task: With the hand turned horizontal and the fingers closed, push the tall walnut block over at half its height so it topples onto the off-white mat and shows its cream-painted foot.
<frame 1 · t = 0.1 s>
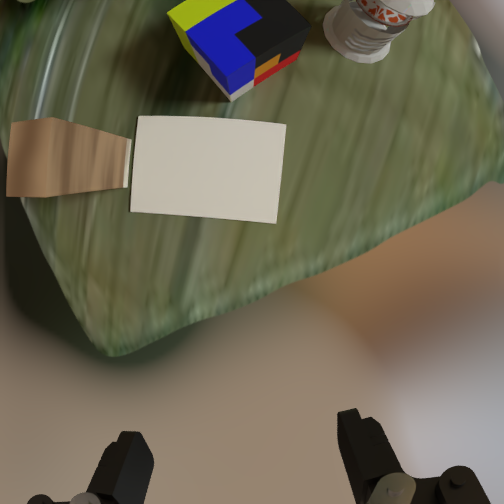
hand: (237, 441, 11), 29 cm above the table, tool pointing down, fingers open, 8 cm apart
french press: (363, 32, 33), on the table
walnut block: (113, 163, 36), on the table
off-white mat: (205, 166, 37), on the table
puzzle toy: (239, 52, 34), on the table
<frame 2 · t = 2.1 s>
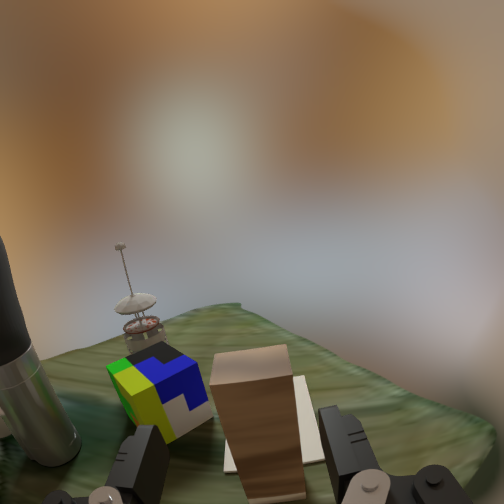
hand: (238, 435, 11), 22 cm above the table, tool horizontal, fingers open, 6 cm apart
french press: (155, 366, 58), on the table
walnut block: (276, 487, 28), on the table
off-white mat: (270, 420, 39), on the table
puzzle toy: (169, 418, 42), on the table
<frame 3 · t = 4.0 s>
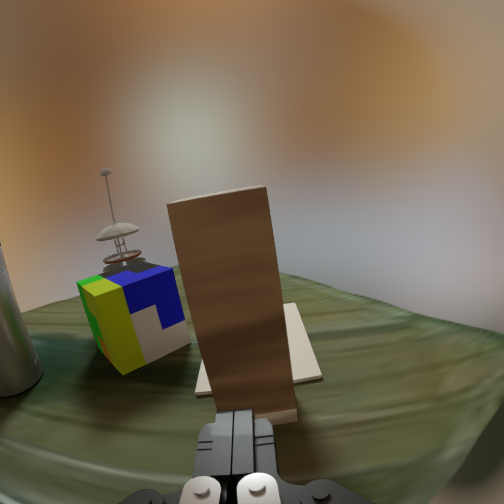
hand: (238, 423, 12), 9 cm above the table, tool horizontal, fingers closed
french press: (135, 306, 55), on the table
walnut block: (259, 409, 25), on the table
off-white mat: (255, 342, 37), on the table
puzzle toy: (141, 347, 39), on the table
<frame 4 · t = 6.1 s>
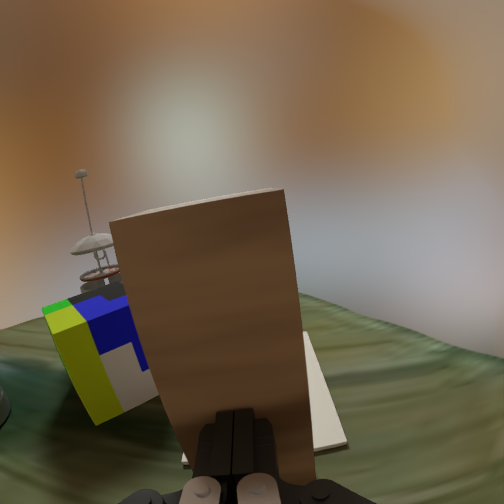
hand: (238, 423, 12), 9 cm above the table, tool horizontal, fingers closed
french press: (119, 329, 46), on the table
walnut block: (266, 491, 16), on the table, touching gripper
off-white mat: (259, 388, 28), on the table
puzzle toy: (121, 387, 31), on the table
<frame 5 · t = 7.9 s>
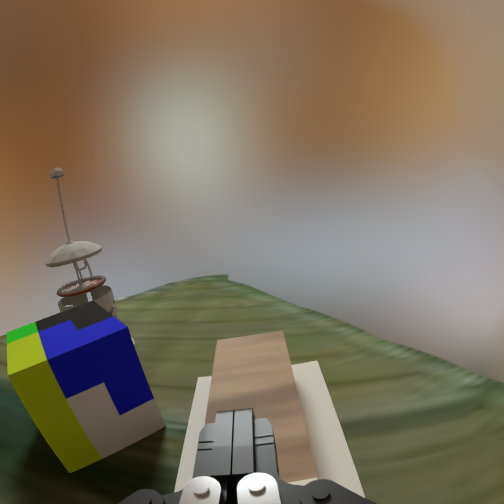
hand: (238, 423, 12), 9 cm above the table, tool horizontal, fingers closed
french press: (103, 348, 40), on the table
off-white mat: (261, 437, 21), on the table
puzzle toy: (100, 424, 24), on the table
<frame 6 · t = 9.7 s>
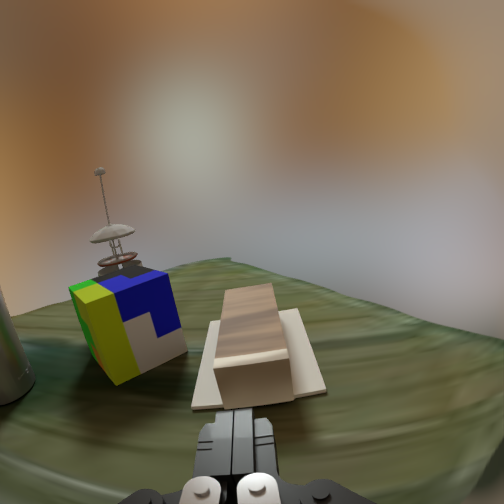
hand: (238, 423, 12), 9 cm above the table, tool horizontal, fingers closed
french press: (131, 310, 53), on the table
walnut block: (255, 385, 24), point 3 cm above the table, tilted 90°, touching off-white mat
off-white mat: (255, 351, 34), on the table
puzzle toy: (136, 355, 37), on the table
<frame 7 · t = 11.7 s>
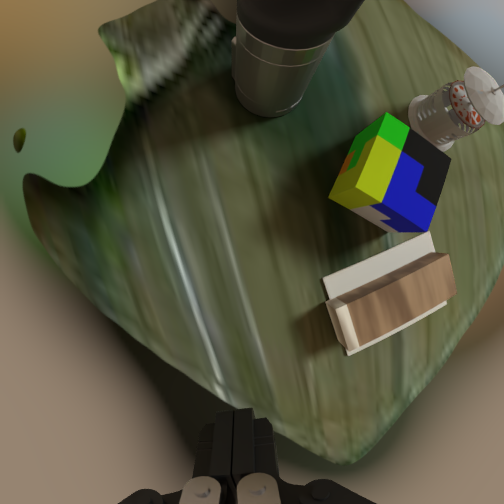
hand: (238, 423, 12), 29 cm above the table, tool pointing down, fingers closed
french press: (434, 120, 41), on the table
walnut block: (336, 326, 39), point 3 cm above the table, tilted 90°, touching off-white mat
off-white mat: (391, 292, 42), on the table
puzzle toy: (372, 183, 41), on the table
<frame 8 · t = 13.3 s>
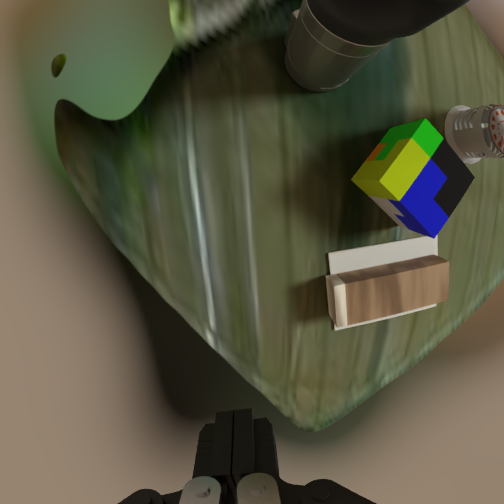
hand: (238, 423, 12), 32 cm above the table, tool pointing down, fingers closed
french press: (469, 132, 39), on the table
walnut block: (331, 301, 42), point 3 cm above the table, tilted 90°, touching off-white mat
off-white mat: (388, 281, 45), on the table
puzzle toy: (395, 176, 41), on the table
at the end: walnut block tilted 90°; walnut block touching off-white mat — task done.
